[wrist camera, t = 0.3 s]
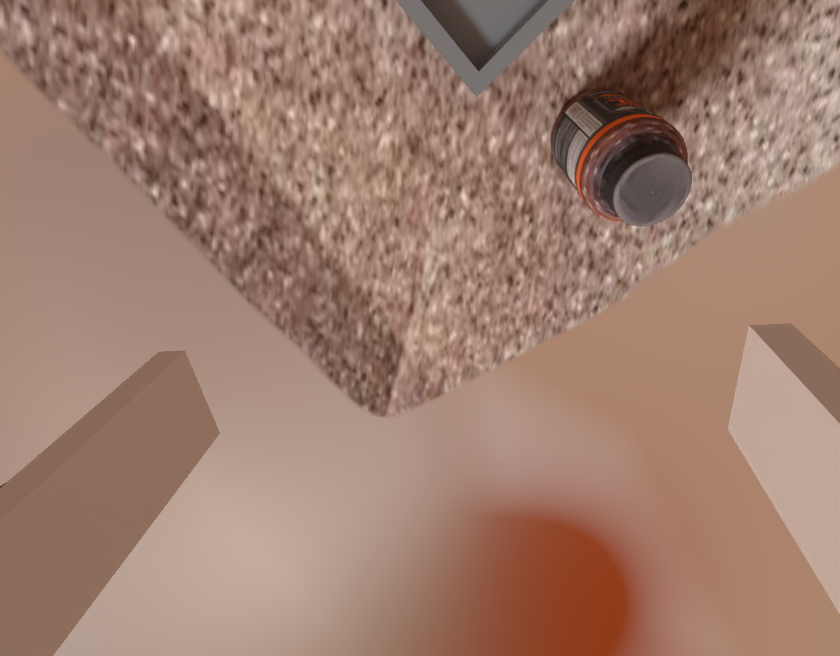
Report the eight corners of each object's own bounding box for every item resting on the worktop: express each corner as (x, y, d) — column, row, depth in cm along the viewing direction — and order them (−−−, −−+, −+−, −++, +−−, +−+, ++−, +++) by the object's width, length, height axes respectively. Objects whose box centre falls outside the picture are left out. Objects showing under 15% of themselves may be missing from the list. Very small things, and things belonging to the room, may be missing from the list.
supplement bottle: (650, 100, 33) (741, 153, 24) (607, 183, 36) (671, 255, 27) (571, 74, 32) (634, 118, 23) (534, 161, 35) (576, 229, 26)
